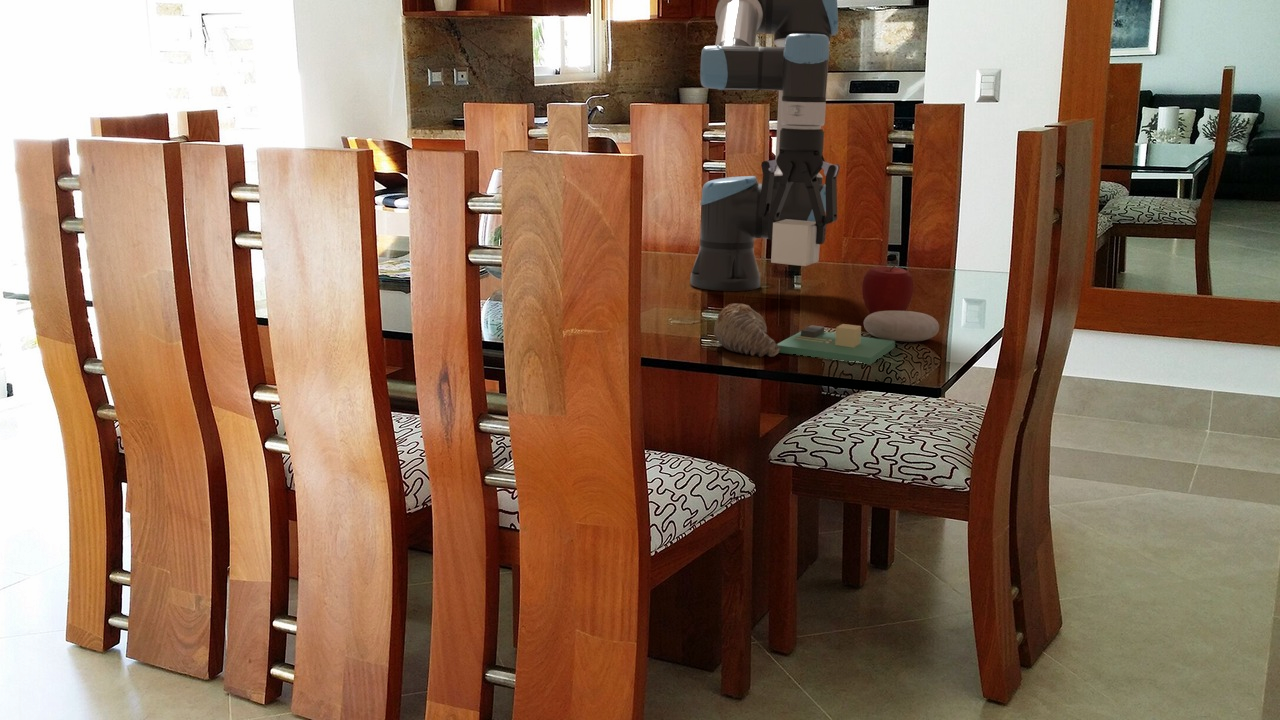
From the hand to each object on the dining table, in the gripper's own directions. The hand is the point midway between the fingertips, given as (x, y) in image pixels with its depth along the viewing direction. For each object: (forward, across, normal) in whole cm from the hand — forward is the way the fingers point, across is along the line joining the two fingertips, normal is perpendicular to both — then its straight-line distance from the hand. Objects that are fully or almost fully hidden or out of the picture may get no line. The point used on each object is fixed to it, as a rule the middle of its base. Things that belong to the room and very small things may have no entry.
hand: (794, 260), depth 196 cm
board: (+12, +12, -11) cm, 21 cm away
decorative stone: (+13, +19, +3) cm, 23 cm away
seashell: (+13, -1, -18) cm, 22 cm away
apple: (+13, +12, +20) cm, 26 cm away
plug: (0, 0, 0) cm, 0 cm away
